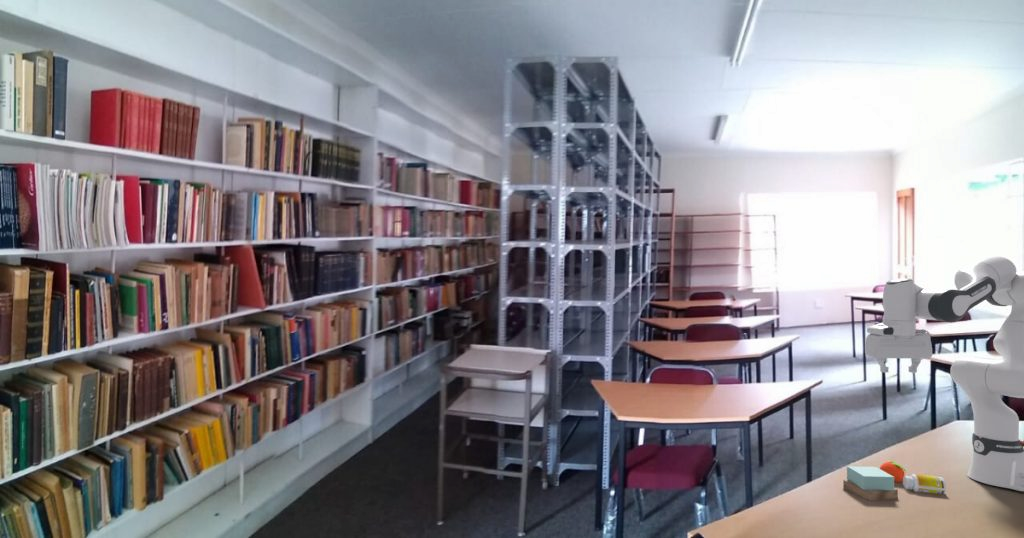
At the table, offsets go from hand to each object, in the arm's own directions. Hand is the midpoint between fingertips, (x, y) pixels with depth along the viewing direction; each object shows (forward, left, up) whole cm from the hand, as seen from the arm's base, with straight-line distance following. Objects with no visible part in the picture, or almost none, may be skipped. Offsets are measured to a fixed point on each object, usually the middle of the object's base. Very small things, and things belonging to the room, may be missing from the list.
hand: (898, 372), depth 182 cm
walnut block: (+13, +6, -38) cm, 40 cm away
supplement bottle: (-10, +6, -34) cm, 36 cm away
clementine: (-1, -4, -37) cm, 38 cm away
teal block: (+13, +6, -34) cm, 37 cm away
